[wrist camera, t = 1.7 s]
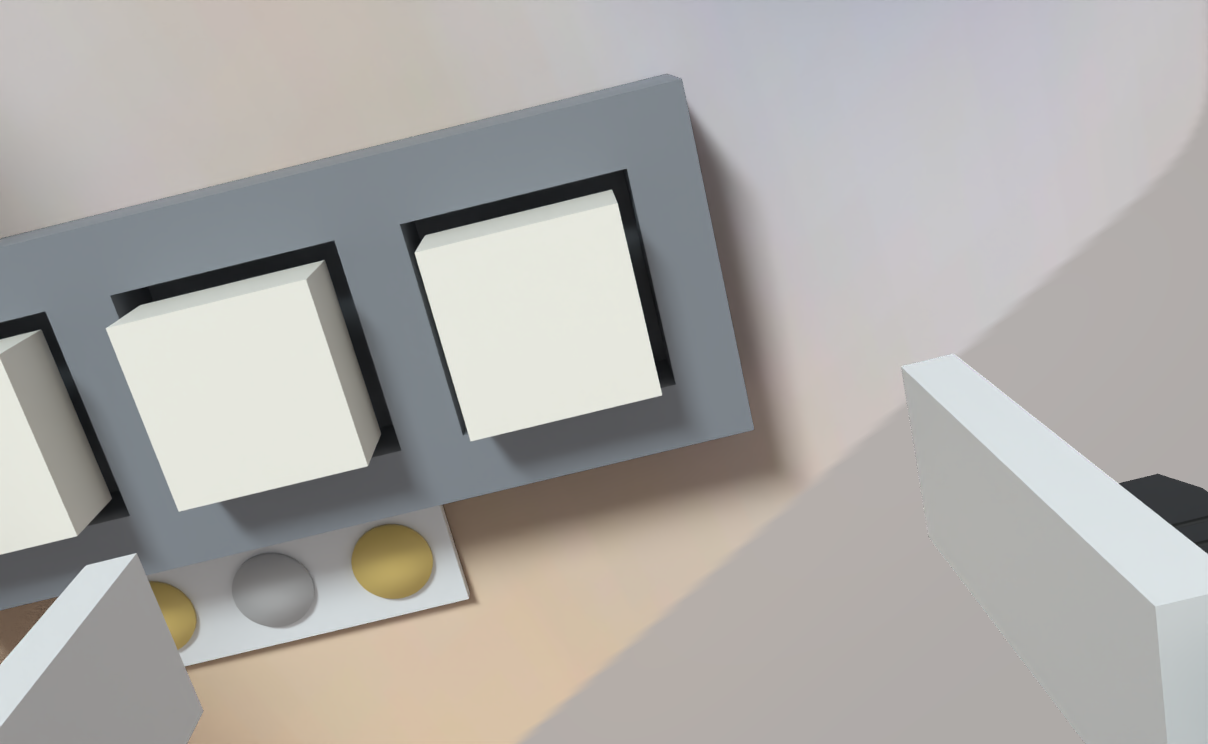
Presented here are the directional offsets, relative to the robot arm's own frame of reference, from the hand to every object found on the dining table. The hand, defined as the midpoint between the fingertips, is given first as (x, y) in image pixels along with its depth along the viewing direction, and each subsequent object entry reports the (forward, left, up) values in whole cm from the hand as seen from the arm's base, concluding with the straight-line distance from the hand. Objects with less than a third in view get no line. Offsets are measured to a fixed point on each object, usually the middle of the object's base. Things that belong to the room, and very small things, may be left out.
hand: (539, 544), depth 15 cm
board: (-8, 0, -18) cm, 20 cm away
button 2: (-8, 0, -15) cm, 17 cm away
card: (-11, -8, -18) cm, 23 cm away
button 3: (0, 0, -15) cm, 15 cm away
